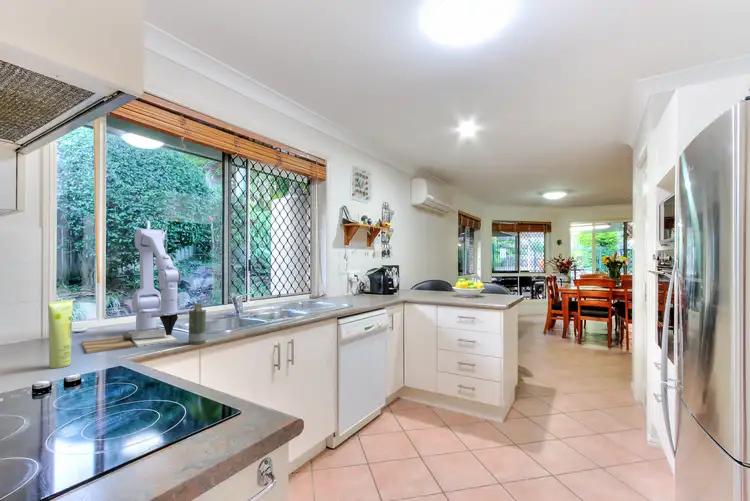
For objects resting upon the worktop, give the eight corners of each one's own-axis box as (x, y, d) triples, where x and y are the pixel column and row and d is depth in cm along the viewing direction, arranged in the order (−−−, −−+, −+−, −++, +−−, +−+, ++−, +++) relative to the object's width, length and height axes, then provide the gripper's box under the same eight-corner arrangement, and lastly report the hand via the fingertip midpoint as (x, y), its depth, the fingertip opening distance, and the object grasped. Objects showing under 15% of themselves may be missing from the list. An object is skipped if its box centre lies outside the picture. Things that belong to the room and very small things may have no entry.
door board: (127, 338, 148) (127, 329, 148) (164, 333, 157) (164, 325, 157) (137, 346, 135) (137, 337, 135) (176, 341, 144) (176, 332, 144)
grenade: (186, 342, 142) (187, 303, 142) (203, 340, 146) (204, 301, 146) (190, 345, 137) (190, 304, 137) (207, 343, 141) (208, 303, 141)
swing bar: (122, 340, 139) (122, 332, 139) (123, 338, 142) (123, 331, 143) (165, 336, 146) (165, 329, 146) (164, 334, 149) (165, 327, 149)
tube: (69, 367, 110) (70, 301, 111) (46, 370, 108) (48, 302, 108) (71, 362, 115) (72, 299, 115) (50, 365, 112) (51, 300, 113)
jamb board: (81, 343, 139) (81, 340, 139) (127, 338, 148) (127, 335, 148) (86, 353, 125) (86, 350, 125) (136, 346, 135) (136, 343, 135)
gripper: (150, 302, 138) (149, 339, 138) (192, 299, 148) (191, 333, 148) (146, 300, 144) (145, 336, 143) (186, 297, 153) (186, 331, 153)
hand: (168, 334), depth 146 cm, fingers closed
